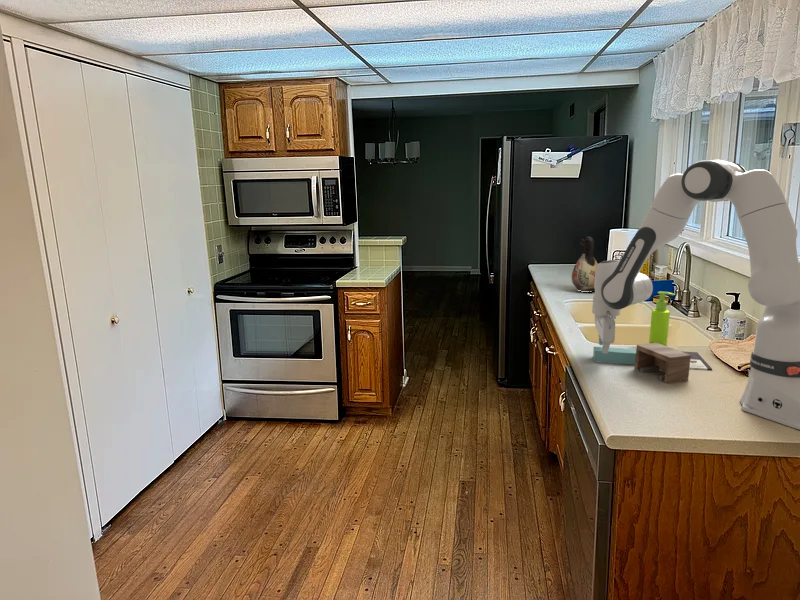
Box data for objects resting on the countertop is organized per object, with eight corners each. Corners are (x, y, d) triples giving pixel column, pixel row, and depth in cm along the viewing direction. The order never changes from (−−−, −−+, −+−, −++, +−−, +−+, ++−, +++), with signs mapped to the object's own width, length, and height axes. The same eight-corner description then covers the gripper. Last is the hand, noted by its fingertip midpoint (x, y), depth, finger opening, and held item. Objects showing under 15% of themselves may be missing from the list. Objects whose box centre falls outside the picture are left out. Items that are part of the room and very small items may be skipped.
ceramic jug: (566, 289, 313) (569, 234, 307) (594, 288, 314) (597, 234, 308) (577, 295, 297) (581, 237, 291) (606, 294, 298) (611, 237, 291)
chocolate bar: (697, 352, 198) (712, 368, 181) (696, 354, 198) (711, 371, 181) (669, 350, 200) (681, 366, 183) (668, 353, 200) (681, 369, 183)
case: (636, 360, 192) (637, 349, 191) (638, 365, 187) (640, 353, 186) (592, 357, 195) (593, 346, 194) (594, 362, 190) (594, 350, 189)
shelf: (688, 380, 172) (690, 355, 170) (667, 383, 170) (669, 357, 168) (654, 366, 185) (656, 342, 183) (634, 368, 183) (636, 344, 181)
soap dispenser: (667, 349, 203) (673, 294, 199) (647, 346, 207) (652, 292, 203) (671, 345, 208) (676, 291, 203) (650, 342, 211) (655, 289, 207)
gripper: (621, 316, 178) (618, 358, 181) (612, 302, 197) (608, 340, 200) (600, 315, 179) (597, 357, 182) (592, 301, 198) (589, 339, 201)
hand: (603, 348), depth 191 cm, fingers open, 8 cm apart
